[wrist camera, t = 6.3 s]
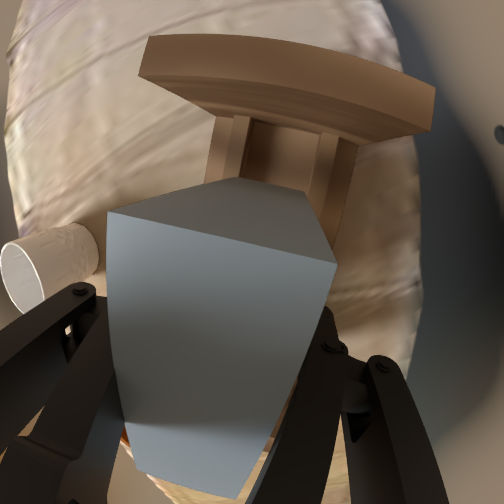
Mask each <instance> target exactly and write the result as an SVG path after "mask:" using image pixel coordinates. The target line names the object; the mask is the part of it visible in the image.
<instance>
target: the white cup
mask: <svg viewBox="0 0 504 504" xmlns="http://www.w3.org/2000/svg"><path fill="white" fill-rule="evenodd" d="M98 262H99V254H98V247H97V244H96V242H95V240H94V238H93V236H92V234H91V233H90V232H89V231H88V230H87V229H86V228H85V227H84V226H83V225H80V224H77V223H72V224H68V225H65V226H62V227H55V228H51V229H47V230H44V231H41V232H37V233H34V234H31V235H29V236H26V237H23V238H20V239H17V240H14V241H11V242H9V243H6V244H5V245H4V247H3V248H2V251H1V256H0V267H1V274H2V278H3V282H4V285H5V287H6V290H7V292H8V294H9V296H10V298H11V299H12V301H13V302H14V304H15V305H16V307H17V308H18V309H19V310H20V311H21V312H22V313H23V314H25V313H26V312H28V311H29V310H31V309H32V308H34V307H35V306H37V305H38V304H40V303H41V302H43V301H44V300H46V299H48V298H49V297H51V296H52V295H54V294H55V293H57V292H59V291H60V290H62V289H63V288H65V287H67V286H68V285H70V284H73V283H77V282H83V281H85V280H86V279H87V278H89V277H90V276H91V275H92V274H93V273H94V272H95V271H96V270H97V266H98Z"/></svg>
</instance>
